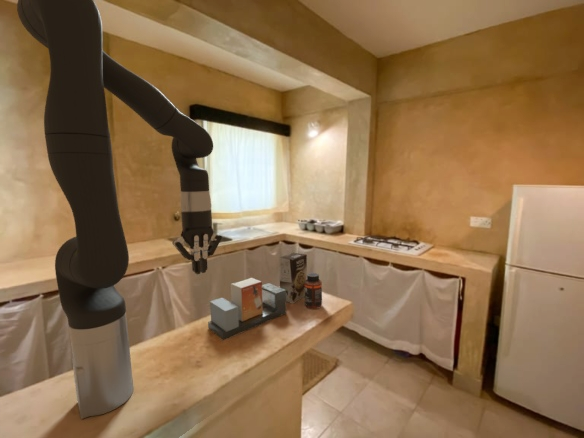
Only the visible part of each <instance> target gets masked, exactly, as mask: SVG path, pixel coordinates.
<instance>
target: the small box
mask: <svg viewBox="0 0 584 438" xmlns="http://www.w3.org/2000/svg"><path fill="white" fill-rule="evenodd" d="M262 285H263V283H262V281H261V280H259V279H256V278H254V277H249V278H247V279H243V280H241V281H237V282H233V283H230V294H231V296H230V297H231V303H232V304H234V305H236V306H238V319H239V320H240V321H242V322H243V321H245V320H247V319H249V318H252V317H254V316H257V315H260V314H262V313H263V308H262Z"/></svg>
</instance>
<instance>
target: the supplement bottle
mask: <svg viewBox="0 0 584 438" xmlns="http://www.w3.org/2000/svg"><path fill="white" fill-rule="evenodd" d="M322 283H323V282H322V280H320V275H319V273H317V272H310V273H307V280H306V281H305V297H304V306H305V307H306V308H307V309H311V310H313V309H314V310H316V309H319V308H322V305H323V286H322V285H323V284H322Z"/></svg>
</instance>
